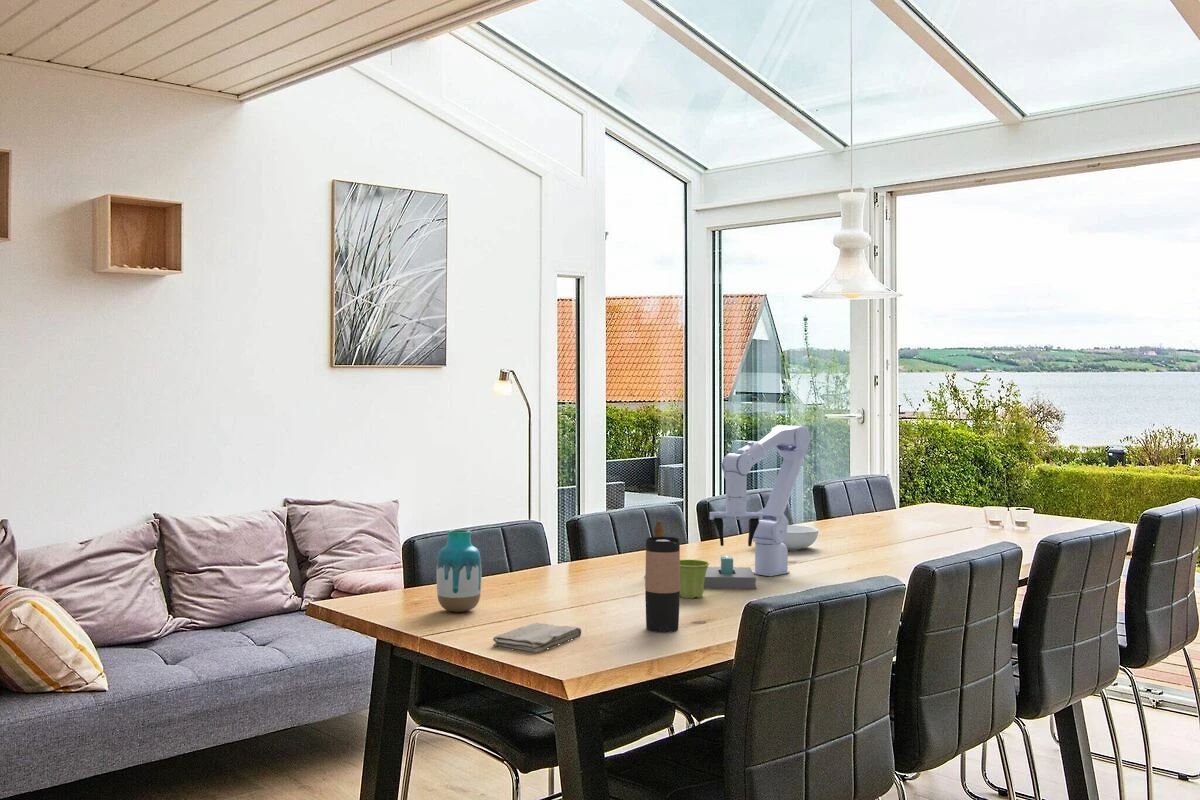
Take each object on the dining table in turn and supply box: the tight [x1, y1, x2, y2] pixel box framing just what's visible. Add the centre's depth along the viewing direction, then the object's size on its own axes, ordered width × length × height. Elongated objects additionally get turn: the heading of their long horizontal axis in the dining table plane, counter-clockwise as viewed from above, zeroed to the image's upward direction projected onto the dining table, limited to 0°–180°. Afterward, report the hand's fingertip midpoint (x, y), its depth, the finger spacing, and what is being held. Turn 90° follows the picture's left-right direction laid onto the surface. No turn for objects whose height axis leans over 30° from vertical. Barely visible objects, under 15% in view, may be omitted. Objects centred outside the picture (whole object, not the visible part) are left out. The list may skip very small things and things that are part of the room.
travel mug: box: [644, 536, 681, 633], centre depth 242 cm, size 8×8×20 cm
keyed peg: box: [720, 555, 734, 574], centre depth 298 cm, size 5×3×7 cm, turn 178°
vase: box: [436, 529, 482, 613], centre depth 259 cm, size 11×11×19 cm
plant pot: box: [680, 559, 710, 599], centre depth 279 cm, size 9×9×9 cm
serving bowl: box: [783, 524, 819, 551], centre depth 360 cm, size 21×21×7 cm
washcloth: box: [492, 622, 582, 654], centre depth 230 cm, size 12×18×3 cm, turn 152°
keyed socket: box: [703, 566, 757, 590], centre depth 298 cm, size 16×14×3 cm
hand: (735, 545), depth 303 cm, fingers open, 7 cm apart
